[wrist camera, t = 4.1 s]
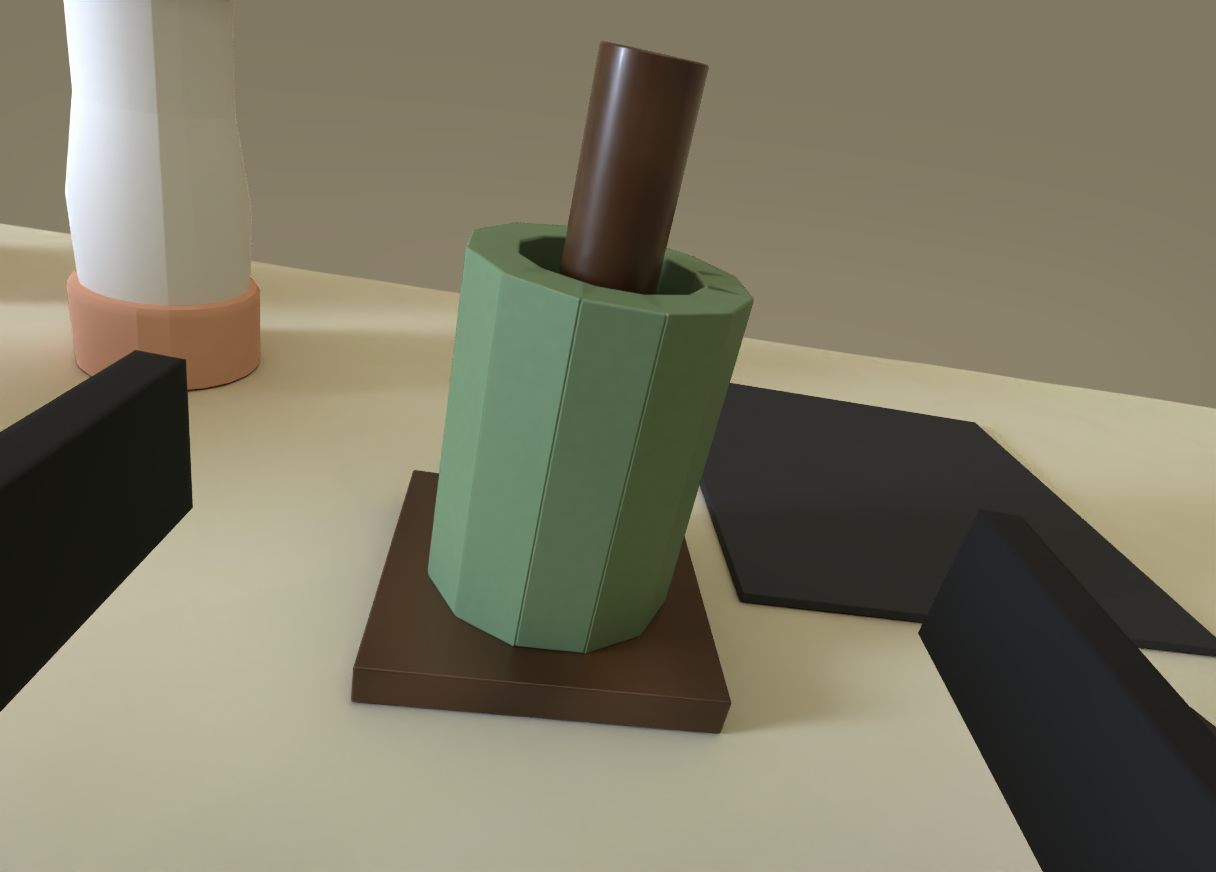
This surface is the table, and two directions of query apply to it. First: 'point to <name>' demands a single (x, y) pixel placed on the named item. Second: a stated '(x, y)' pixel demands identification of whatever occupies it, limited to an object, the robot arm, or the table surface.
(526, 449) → the hollow cylinder
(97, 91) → the pepper shaker
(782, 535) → the placemat
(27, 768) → the table surface
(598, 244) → the peg stand
